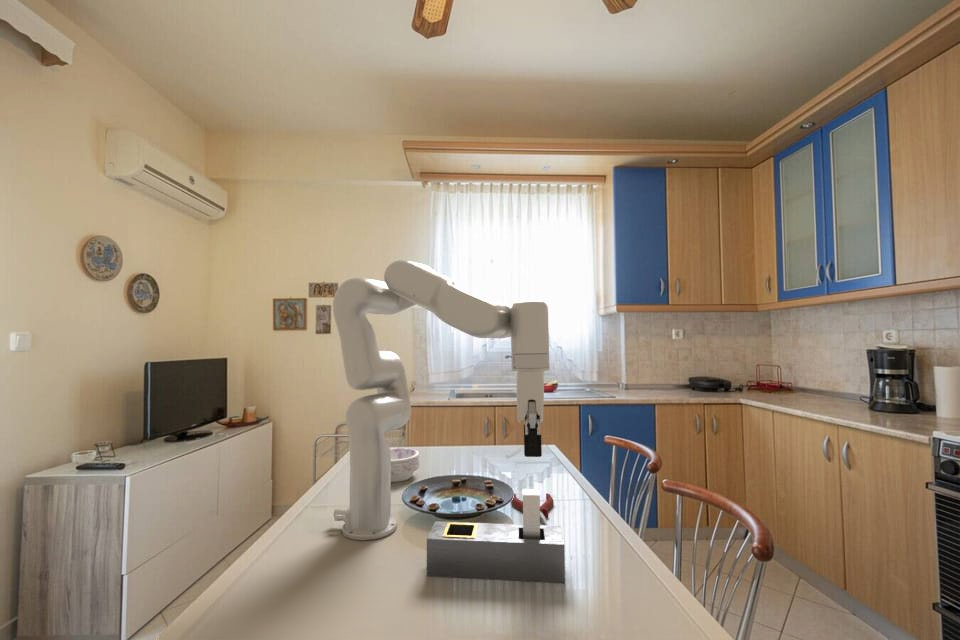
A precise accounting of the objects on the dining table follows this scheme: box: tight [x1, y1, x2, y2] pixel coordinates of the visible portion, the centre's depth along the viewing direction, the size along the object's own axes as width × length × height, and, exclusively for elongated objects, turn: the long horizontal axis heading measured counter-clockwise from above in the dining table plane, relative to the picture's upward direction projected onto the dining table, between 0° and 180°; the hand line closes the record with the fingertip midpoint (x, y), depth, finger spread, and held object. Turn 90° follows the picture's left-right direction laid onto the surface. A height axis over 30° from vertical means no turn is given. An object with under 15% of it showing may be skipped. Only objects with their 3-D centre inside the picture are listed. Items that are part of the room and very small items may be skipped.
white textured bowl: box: [390, 447, 421, 483], centre depth 141 cm, size 15×15×8 cm
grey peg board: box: [426, 520, 566, 584], centre depth 85 cm, size 26×8×7 cm, turn 84°
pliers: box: [511, 492, 554, 526], centre depth 112 cm, size 12×20×3 cm, turn 1°
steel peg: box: [522, 488, 541, 540], centre depth 85 cm, size 3×3×13 cm
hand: (532, 449), depth 85 cm, fingers open, 9 cm apart
